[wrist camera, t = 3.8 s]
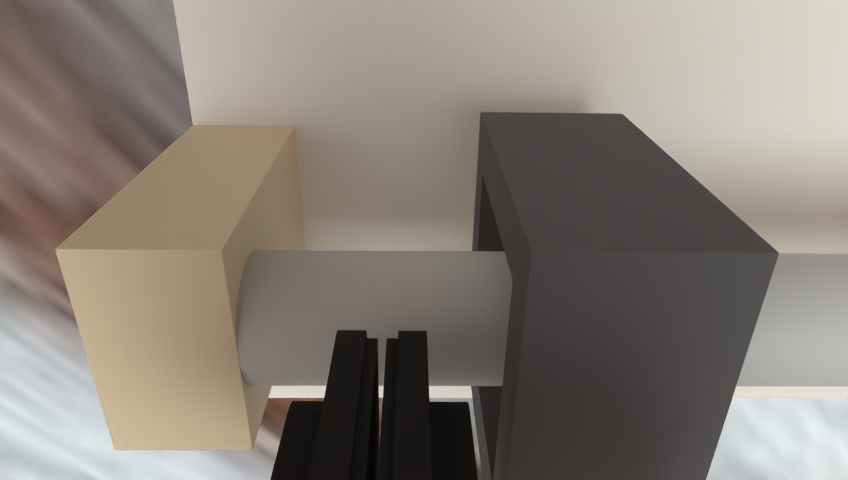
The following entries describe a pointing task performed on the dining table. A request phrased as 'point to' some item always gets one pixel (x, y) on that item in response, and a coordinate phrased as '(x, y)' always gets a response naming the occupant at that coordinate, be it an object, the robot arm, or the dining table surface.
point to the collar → (609, 302)
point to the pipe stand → (437, 191)
